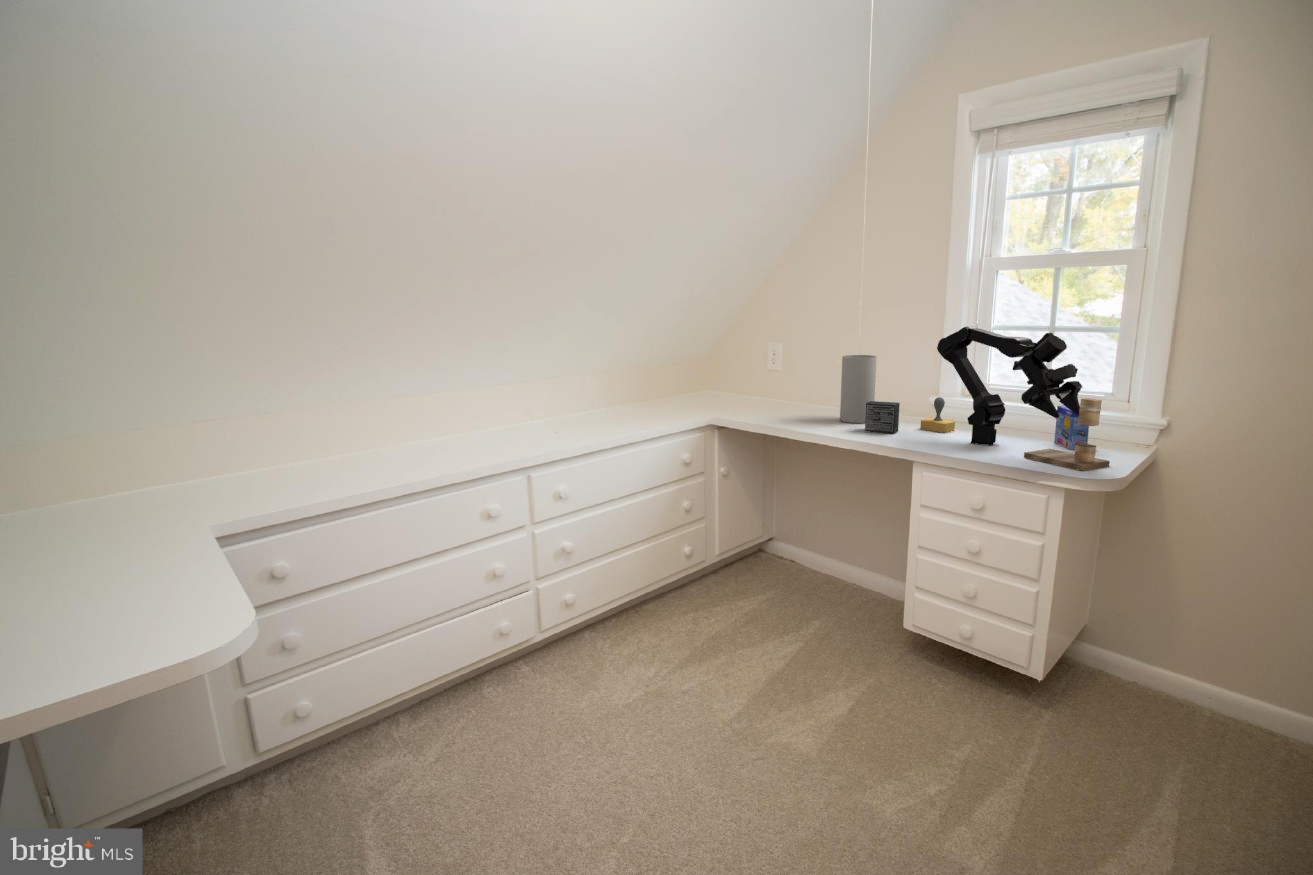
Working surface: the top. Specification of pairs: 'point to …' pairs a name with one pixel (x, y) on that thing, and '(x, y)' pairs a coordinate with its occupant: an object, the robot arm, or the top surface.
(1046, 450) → the stand
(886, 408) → the small box
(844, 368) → the cylinder vase
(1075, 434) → the ink cartridge box
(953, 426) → the rubber stamp
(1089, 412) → the stub
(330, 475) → the top surface
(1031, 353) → the robot arm
